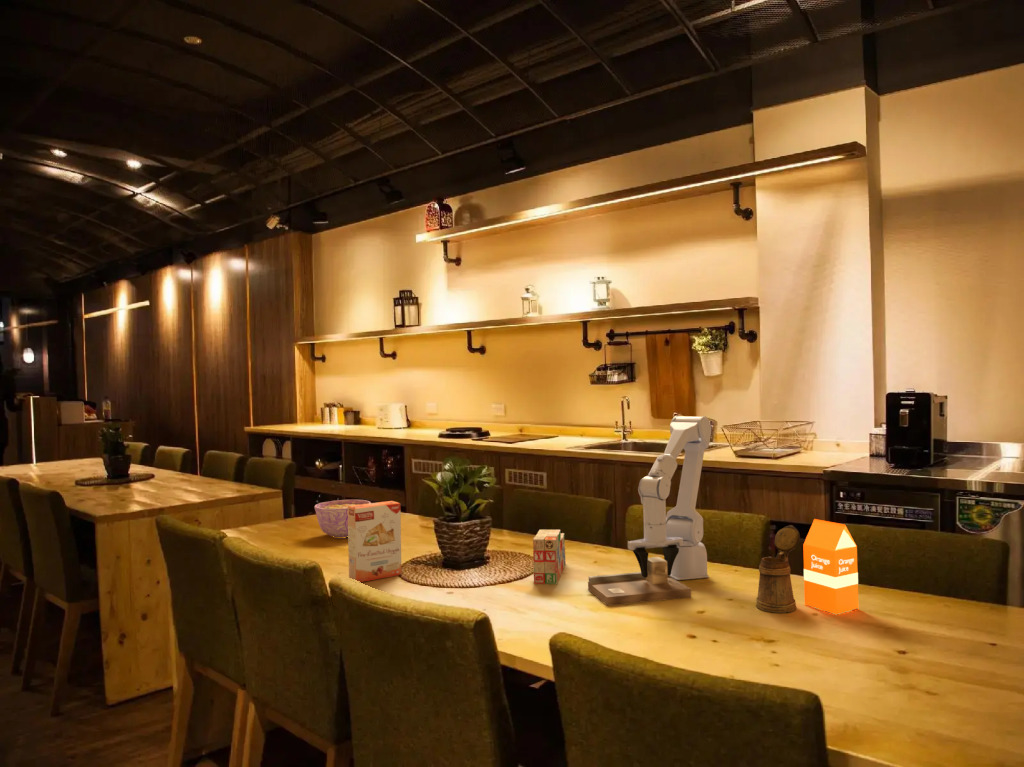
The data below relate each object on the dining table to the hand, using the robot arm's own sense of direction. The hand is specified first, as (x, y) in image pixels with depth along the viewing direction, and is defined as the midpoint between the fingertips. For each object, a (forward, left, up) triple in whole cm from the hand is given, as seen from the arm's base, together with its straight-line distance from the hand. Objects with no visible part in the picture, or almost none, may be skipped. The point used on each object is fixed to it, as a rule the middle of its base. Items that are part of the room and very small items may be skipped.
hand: (656, 575), depth 187 cm
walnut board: (+6, +2, -3) cm, 7 cm away
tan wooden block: (0, 0, -1) cm, 1 cm away
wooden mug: (-22, +21, -4) cm, 31 cm away
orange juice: (-32, +26, -4) cm, 42 cm away
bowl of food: (+79, -96, -4) cm, 124 cm away
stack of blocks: (+22, -23, -4) cm, 32 cm away
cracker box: (+70, -35, -4) cm, 78 cm away
